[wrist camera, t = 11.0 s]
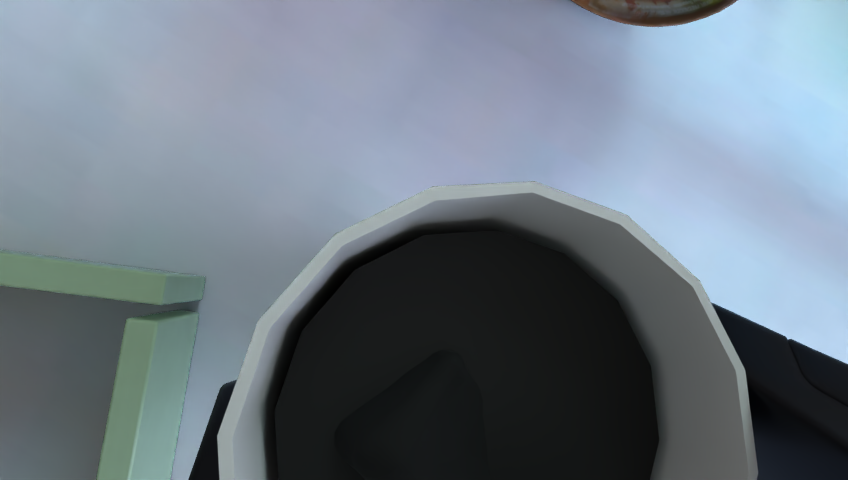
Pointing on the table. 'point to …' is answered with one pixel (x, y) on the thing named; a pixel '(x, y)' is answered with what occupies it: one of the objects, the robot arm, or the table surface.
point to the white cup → (490, 353)
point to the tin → (654, 10)
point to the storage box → (130, 354)
